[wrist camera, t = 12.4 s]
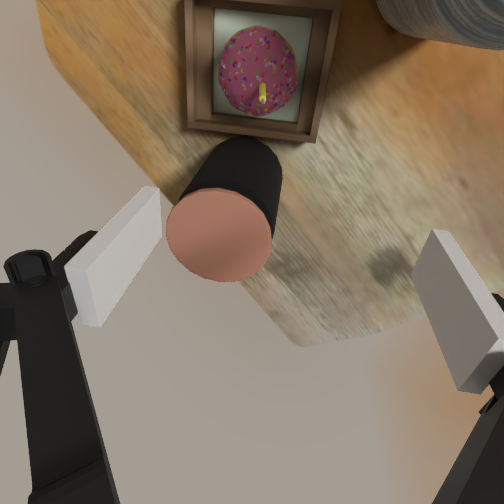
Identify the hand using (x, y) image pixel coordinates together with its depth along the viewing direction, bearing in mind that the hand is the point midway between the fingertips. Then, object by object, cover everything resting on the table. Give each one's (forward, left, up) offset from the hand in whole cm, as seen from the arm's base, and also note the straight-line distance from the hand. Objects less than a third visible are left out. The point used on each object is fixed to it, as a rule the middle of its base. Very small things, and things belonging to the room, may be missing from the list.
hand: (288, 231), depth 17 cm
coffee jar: (+10, -6, -31) cm, 33 cm away
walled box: (-3, -5, -31) cm, 31 cm away
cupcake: (-3, -5, -31) cm, 31 cm away
